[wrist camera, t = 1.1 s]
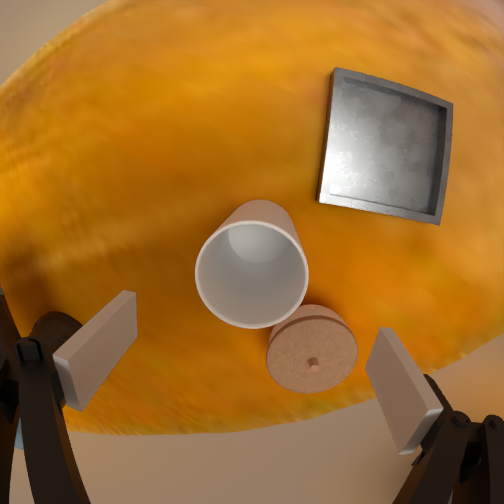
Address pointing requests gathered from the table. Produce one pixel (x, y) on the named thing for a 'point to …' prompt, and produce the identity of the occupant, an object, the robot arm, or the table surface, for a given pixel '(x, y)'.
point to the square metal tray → (385, 147)
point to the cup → (253, 267)
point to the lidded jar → (311, 350)
